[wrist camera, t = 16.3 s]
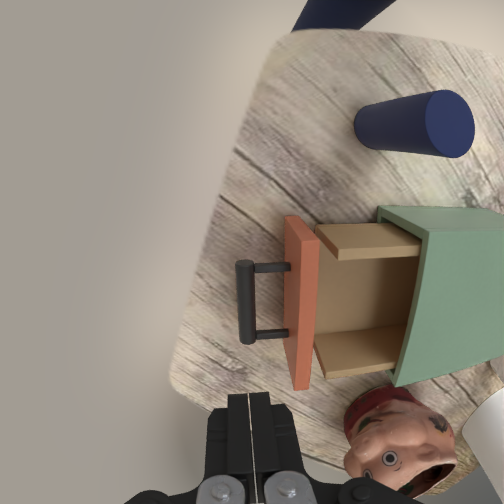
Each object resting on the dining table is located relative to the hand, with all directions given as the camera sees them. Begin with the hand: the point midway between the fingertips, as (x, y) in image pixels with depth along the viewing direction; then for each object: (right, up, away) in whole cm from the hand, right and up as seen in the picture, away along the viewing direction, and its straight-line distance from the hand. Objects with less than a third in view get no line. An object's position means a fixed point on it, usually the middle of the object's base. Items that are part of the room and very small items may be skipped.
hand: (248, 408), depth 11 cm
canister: (+46, -25, +30) cm, 60 cm away
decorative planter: (+18, -15, +25) cm, 35 cm away
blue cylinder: (+11, +17, +13) cm, 24 cm away
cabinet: (+19, +4, +18) cm, 26 cm away
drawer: (+8, +3, +17) cm, 19 cm away
